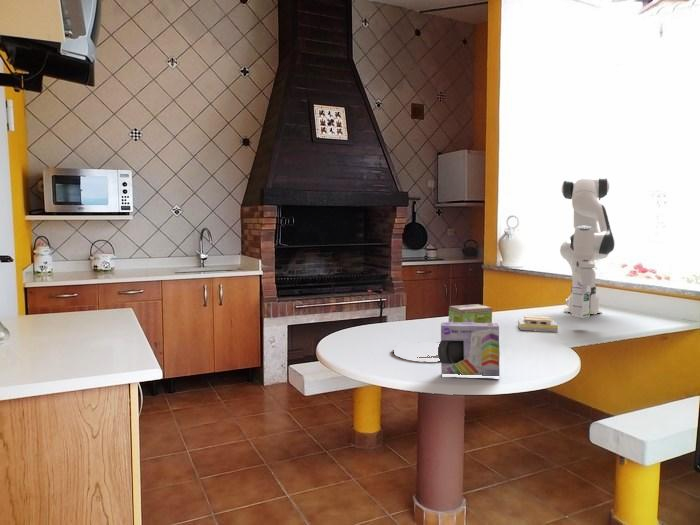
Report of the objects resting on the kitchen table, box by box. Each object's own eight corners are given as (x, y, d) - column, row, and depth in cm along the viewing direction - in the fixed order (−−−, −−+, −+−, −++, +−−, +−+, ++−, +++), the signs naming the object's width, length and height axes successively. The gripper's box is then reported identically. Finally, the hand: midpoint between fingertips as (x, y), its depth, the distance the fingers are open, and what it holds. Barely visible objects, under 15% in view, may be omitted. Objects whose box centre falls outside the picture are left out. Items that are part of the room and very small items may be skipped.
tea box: (461, 346, 212) (462, 309, 210) (447, 340, 221) (447, 305, 220) (492, 342, 218) (492, 306, 217) (476, 337, 227) (477, 303, 226)
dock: (517, 325, 251) (518, 318, 251) (553, 326, 248) (553, 320, 247) (520, 330, 239) (520, 323, 239) (557, 332, 236) (557, 325, 236)
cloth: (523, 319, 249) (524, 315, 249) (548, 320, 246) (548, 316, 246) (525, 323, 240) (525, 319, 240) (551, 324, 238) (551, 320, 238)
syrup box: (582, 318, 237) (583, 286, 236) (570, 316, 242) (572, 284, 241) (590, 316, 240) (591, 285, 239) (578, 314, 245) (580, 283, 244)
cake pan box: (437, 378, 170) (438, 323, 169) (438, 373, 175) (438, 320, 174) (499, 381, 166) (500, 325, 165) (498, 376, 171) (499, 322, 170)
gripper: (571, 259, 249) (570, 288, 251) (579, 264, 230) (578, 295, 231) (585, 259, 248) (584, 288, 249) (595, 264, 228) (594, 296, 230)
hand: (581, 292), depth 240 cm, fingers closed on syrup box, 8 cm apart
